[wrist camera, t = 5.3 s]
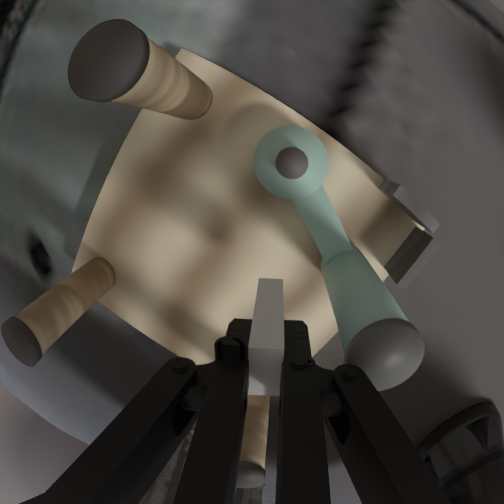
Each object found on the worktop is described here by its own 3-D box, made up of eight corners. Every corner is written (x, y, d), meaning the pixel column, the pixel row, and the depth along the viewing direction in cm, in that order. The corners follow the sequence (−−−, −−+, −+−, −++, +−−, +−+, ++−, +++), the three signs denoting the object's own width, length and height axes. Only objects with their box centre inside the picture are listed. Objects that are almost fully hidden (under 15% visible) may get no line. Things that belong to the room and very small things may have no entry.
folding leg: (243, 148, 18) (200, 146, 8) (303, 116, 17) (330, 77, 7) (324, 295, 21) (350, 405, 11) (377, 269, 20) (439, 363, 10)
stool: (416, 214, 21) (525, 285, 9) (264, 384, 29) (252, 500, 16) (191, 57, 19) (98, -21, 6) (83, 268, 26) (-10, 341, 13)
